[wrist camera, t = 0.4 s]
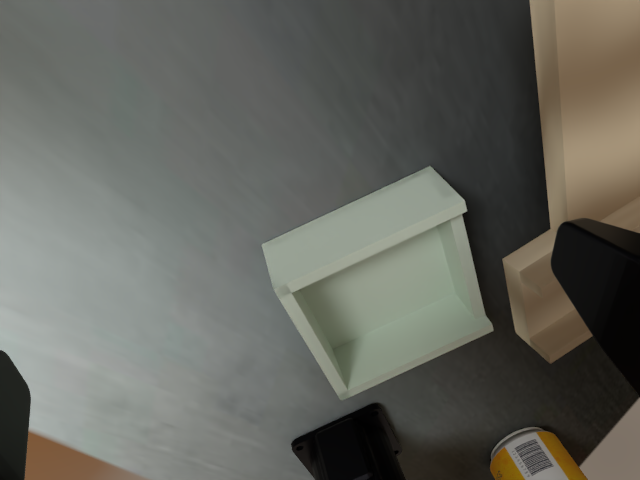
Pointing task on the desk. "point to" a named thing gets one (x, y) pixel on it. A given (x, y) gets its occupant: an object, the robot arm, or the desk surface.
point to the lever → (579, 151)
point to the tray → (381, 282)
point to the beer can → (533, 457)
